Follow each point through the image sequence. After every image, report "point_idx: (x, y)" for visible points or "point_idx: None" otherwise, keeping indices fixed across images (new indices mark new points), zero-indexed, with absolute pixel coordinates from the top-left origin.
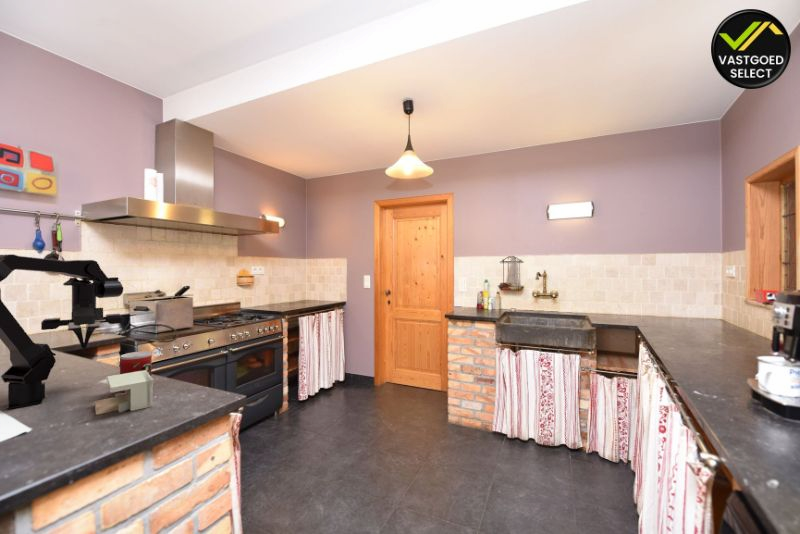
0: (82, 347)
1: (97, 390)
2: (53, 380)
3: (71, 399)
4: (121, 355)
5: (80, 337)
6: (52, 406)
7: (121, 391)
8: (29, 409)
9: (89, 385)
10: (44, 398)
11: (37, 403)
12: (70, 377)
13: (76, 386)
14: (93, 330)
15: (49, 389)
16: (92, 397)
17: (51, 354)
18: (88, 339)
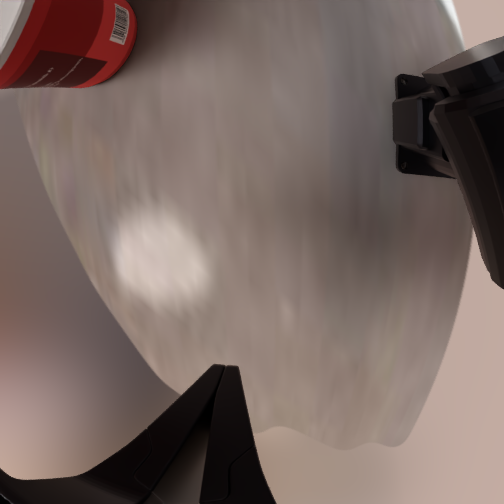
0: (235, 371)
1: (211, 120)
2: (341, 388)
3: (300, 47)
4: (20, 5)
5: (229, 460)
6: (354, 6)
7: (133, 13)
8: (417, 35)
9: (243, 237)
10: (393, 102)
11: (407, 76)
12: (299, 391)
13: (288, 259)
14: (64, 479)
15: (369, 286)
16: (227, 22)
17: (502, 99)
18: (163, 420)
